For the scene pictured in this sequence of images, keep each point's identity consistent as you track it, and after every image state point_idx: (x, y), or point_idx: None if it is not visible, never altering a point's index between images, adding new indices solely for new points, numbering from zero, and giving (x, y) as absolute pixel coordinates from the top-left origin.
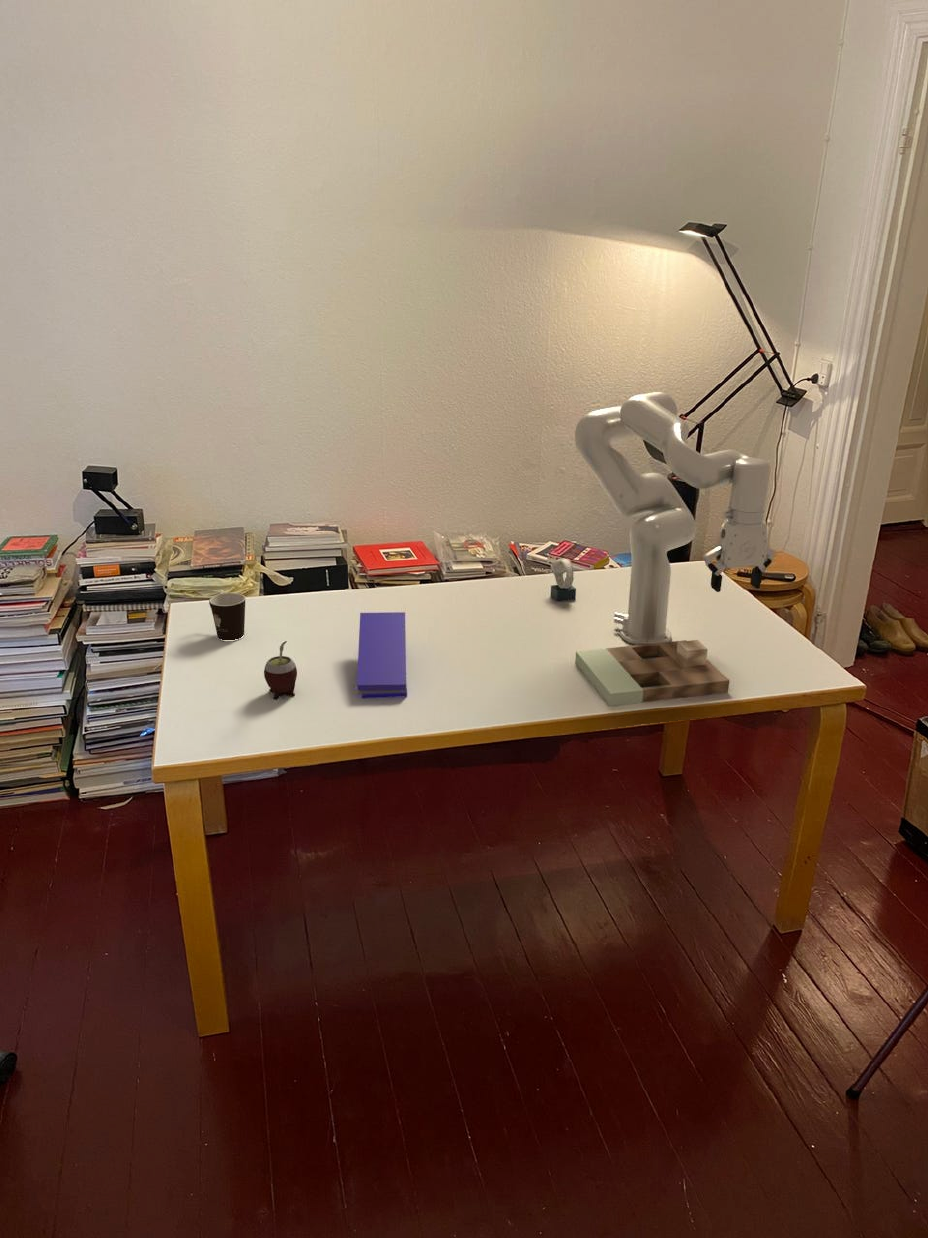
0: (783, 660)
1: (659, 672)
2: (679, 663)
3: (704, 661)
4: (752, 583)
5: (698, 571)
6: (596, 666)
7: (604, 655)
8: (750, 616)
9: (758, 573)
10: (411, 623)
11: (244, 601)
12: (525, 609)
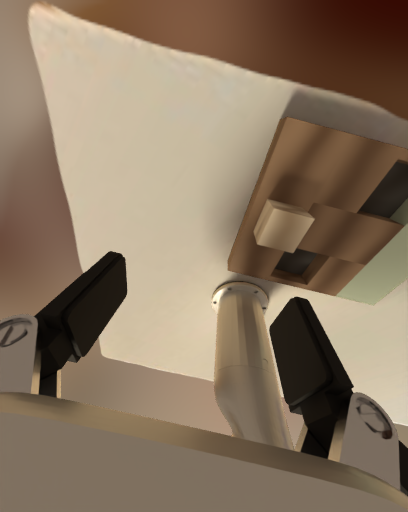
0: (119, 181)
1: (357, 211)
2: None
3: (271, 201)
4: (122, 288)
5: (112, 350)
6: (406, 267)
7: (358, 284)
8: None
9: (70, 315)
10: (386, 385)
11: None
12: None
